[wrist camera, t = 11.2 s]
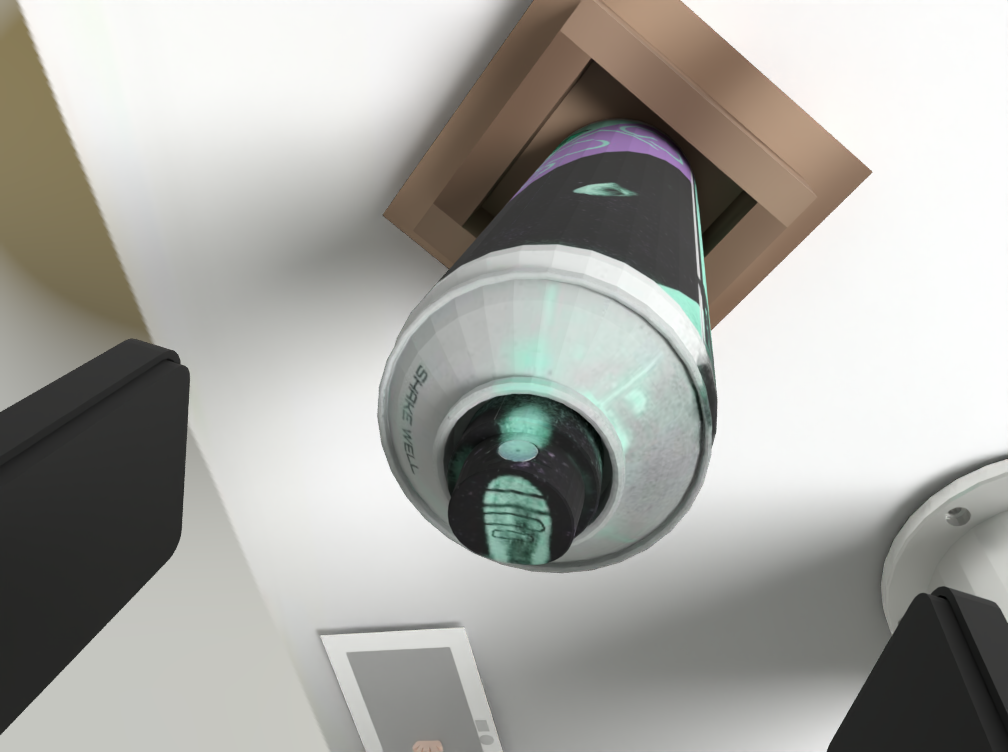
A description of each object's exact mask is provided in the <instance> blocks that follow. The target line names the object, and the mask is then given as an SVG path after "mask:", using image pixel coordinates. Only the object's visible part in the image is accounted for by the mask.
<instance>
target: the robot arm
mask: <svg viewBox="0 0 1008 752" xmlns="http://www.w3.org/2000/svg"><path fill="white" fill-rule="evenodd" d="M189 387H190V373H189V370H188V368H187V367H186V366H184V365H181V364H180V359H179V356H178V354H177V353H176V352H175V351H173V350H170V349H166V348H163V347H160V346H157V345H153V344H150V343H147V342H143V341H140V340H137V339H128V340H126V341H124V342H122V343H120V344H118V345H117V346H115V347H113V348H111V349H110V350H108V351H106V352H104V353H103V354H101V355H99V356H97V357H96V358H94V359H92V360H91V361H89V362H87V363H85V364H83V365H82V366H80V367H78V368H76V369H75V370H73V371H71V372H70V373H68V374H66V375H64V376H63V377H61V378H59V379H57V380H56V381H54V382H52V383H50V384H49V385H47V386H45V387H43V388H42V389H40V390H38V391H37V392H35V393H33V394H32V395H29V396H28V397H26V398H24V399H22V400H21V401H19V402H17V403H16V404H14V405H12V406H10V407H8V408H7V409H5V410H3V411H2V412H0V735H1V734H2V733H3V732H4V731H5V729H7V728H8V726H9V725H10V724H11V723H12V722H13V721H14V720H15V719H16V718H17V717H18V716H19V715H20V714H21V713H22V712H23V711H24V710H25V709H26V708H27V707H28V705H29V704H30V703H31V702H33V700H34V699H35V698H36V697H37V696H38V695H39V694H40V693H41V692H42V691H43V690H44V689H45V688H46V687H47V686H48V685H49V684H50V683H51V682H52V681H53V680H54V678H56V676H57V675H58V674H59V673H60V672H61V671H62V670H63V669H64V668H65V667H66V666H67V665H68V664H69V663H70V662H71V661H72V660H73V659H74V658H75V657H76V656H77V655H78V654H79V653H80V652H81V650H82V649H83V648H84V647H85V646H86V645H87V644H88V643H89V642H90V641H91V640H92V639H93V638H94V637H95V636H96V635H97V634H98V633H99V632H100V631H101V630H102V629H103V627H104V626H106V624H107V623H108V622H109V621H110V620H111V619H112V618H113V617H114V616H115V615H116V614H117V613H118V612H119V611H120V610H121V609H122V608H123V607H124V606H125V605H126V604H127V603H128V602H129V601H130V600H131V598H132V597H133V596H134V595H135V594H136V593H137V592H138V591H139V590H140V589H141V588H142V587H143V586H144V585H145V584H146V583H147V582H148V581H149V580H150V579H151V578H152V577H153V576H154V575H155V573H156V572H157V571H158V570H159V569H160V568H161V567H162V566H163V565H164V564H165V563H166V562H167V561H168V560H169V559H170V557H171V556H172V555H173V553H174V551H175V550H176V548H177V545H178V543H179V540H180V537H181V530H182V512H183V496H184V477H185V459H186V441H187V423H188V405H189ZM881 593H882V604H883V610H884V613H885V616H886V620H887V623H888V626H889V629H890V632H891V634H892V637H891V638H890V640H889V642H888V644H887V645H886V647H885V649H884V651H883V652H882V654H881V656H880V658H879V659H878V661H877V663H876V664H875V666H874V668H873V670H872V671H871V673H870V675H869V677H868V678H867V680H866V682H865V684H864V685H863V687H862V689H861V690H860V692H859V694H858V696H857V697H856V699H855V701H854V703H853V704H852V706H851V708H850V710H849V711H848V713H847V715H846V717H845V718H844V720H843V722H842V723H841V725H840V727H839V729H838V730H837V732H836V734H835V736H834V737H833V739H832V741H831V743H830V745H829V747H828V749H827V752H1008V459H1006V460H1003V461H999V462H996V463H993V464H989V465H986V466H984V467H982V468H980V469H978V470H976V471H973V472H971V473H969V474H967V475H965V476H963V477H961V478H958V479H956V480H955V481H954V482H952V483H951V484H949V485H948V486H946V487H945V488H943V489H942V490H940V491H939V492H937V493H936V494H934V495H933V496H931V497H930V498H929V499H928V500H927V501H926V502H925V503H924V504H923V505H922V506H921V507H920V508H919V509H918V510H916V511H915V512H914V513H913V514H912V515H911V516H910V517H909V519H908V520H907V522H906V523H905V524H904V526H903V527H902V529H901V530H900V531H899V533H898V534H897V536H896V537H895V539H894V541H893V543H892V545H891V548H890V550H889V553H888V555H887V557H886V560H885V562H884V568H883V574H882V581H881Z"/></svg>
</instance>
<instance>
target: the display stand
mask: <svg viewBox="0 0 1008 752" xmlns="http://www.w3.org/2000/svg"><path fill="white" fill-rule="evenodd" d="M613 118H627V119H633V120H639V121H642V122H645V123H647V124H650V125H653V126H655V127H656V128H658V129H660V130H661V131H663V132H664V133H666V134H667V135H668V136H669V137H670V138H672V139H673V140H674V141H675V142H676V143H677V144H678V145H679V147H680V148H681V150H682V151H683V153H684V154H685V156H686V157H687V159H688V161H689V163H690V166H691V168H692V171H693V173H694V176H695V181H696V187H697V193H698V204H699V214H700V224H701V235H702V245H703V256H704V266H705V276H706V287H707V297H708V307H709V318H710V328H711V330H712V329H713V328H714V327H715V326H716V325H717V324H718V323H719V322H720V321H721V320H722V319H723V318H724V317H725V316H726V315H728V314H729V313H730V312H731V311H732V310H733V309H734V308H735V307H736V306H737V305H738V304H739V303H740V302H741V301H742V300H743V299H744V298H745V297H746V296H747V295H748V294H749V293H750V292H751V291H752V290H753V289H754V288H755V287H756V286H757V285H758V284H759V283H760V282H761V281H762V280H763V279H764V278H765V277H766V276H767V275H768V274H769V273H770V272H771V271H772V270H773V269H774V268H775V267H776V266H777V265H778V264H779V263H780V262H782V261H783V260H784V259H785V258H786V257H787V256H788V255H789V254H790V253H791V252H792V251H793V250H794V249H795V248H796V247H797V246H798V245H799V244H800V243H801V242H802V241H803V240H804V239H805V238H806V237H807V236H808V235H809V234H810V233H811V232H812V231H813V230H814V229H815V228H816V227H817V226H818V225H819V224H820V223H821V222H822V221H823V220H824V219H825V218H826V217H827V216H828V215H829V214H830V213H831V212H832V211H833V210H835V209H836V208H837V207H838V206H839V205H840V204H841V203H842V202H843V201H844V200H845V199H846V198H847V197H848V196H849V195H850V194H851V193H852V192H853V191H854V190H855V189H856V188H857V187H858V186H859V185H860V184H861V183H862V182H863V181H864V180H865V179H866V178H867V177H868V176H869V175H870V174H871V173H872V171H871V170H870V169H869V168H868V167H867V166H865V165H864V164H863V163H862V162H861V161H860V160H859V159H858V158H856V157H855V156H854V155H853V154H852V153H851V152H850V151H849V150H847V149H846V148H845V147H844V146H843V145H842V144H841V143H840V142H838V141H837V140H836V139H835V138H834V137H833V136H832V135H831V134H830V133H828V132H827V131H826V130H825V129H824V128H823V127H822V126H821V125H819V124H818V123H817V122H816V121H815V120H814V119H813V118H812V117H810V116H809V115H808V114H807V113H806V112H805V111H804V110H803V109H801V108H800V107H799V106H798V105H797V104H796V103H795V102H794V101H793V100H791V99H790V98H789V97H788V96H787V95H786V94H785V93H784V92H782V91H781V90H780V89H779V88H778V87H777V86H776V85H775V84H773V83H772V82H771V81H770V80H769V79H768V78H767V77H766V76H764V75H763V74H762V73H761V72H760V71H759V70H758V69H757V68H756V67H754V66H753V65H752V64H751V63H750V62H749V61H748V60H747V59H745V58H744V57H743V56H742V55H741V54H740V53H739V52H738V51H736V50H735V49H734V48H733V47H732V46H731V45H730V44H729V43H728V42H726V41H725V40H724V39H723V38H722V37H721V36H720V35H719V34H717V33H716V32H715V31H714V30H713V29H712V28H711V27H710V26H708V25H707V24H706V23H705V22H704V21H703V20H702V19H701V18H699V17H698V16H697V15H696V14H695V13H694V12H693V11H692V10H691V9H689V8H688V7H687V6H686V5H685V4H684V3H683V2H682V1H680V0H533V2H532V3H531V5H530V6H529V8H528V9H527V10H526V12H525V13H524V15H523V16H522V18H521V19H520V20H519V22H518V23H517V25H516V26H515V27H514V29H513V30H512V32H511V33H510V35H509V36H508V37H507V39H506V40H505V42H504V43H503V44H502V46H501V47H500V49H499V50H498V52H497V53H496V54H495V56H494V57H493V59H492V60H491V62H490V63H489V64H488V66H487V67H486V69H485V70H484V71H483V73H482V74H481V76H480V77H479V79H478V80H477V81H476V83H475V84H474V86H473V87H472V89H471V90H470V91H469V93H468V94H467V96H466V97H465V98H464V100H463V101H462V103H461V104H460V106H459V107H458V108H457V110H456V111H455V113H454V114H453V115H452V117H451V118H450V120H449V121H448V123H447V124H446V125H445V127H444V128H443V130H442V131H441V133H440V134H439V135H438V137H437V138H436V140H435V141H434V142H433V144H432V145H431V147H430V148H429V150H428V151H427V152H426V154H425V155H424V157H423V158H422V159H421V161H420V162H419V164H418V165H417V167H416V168H415V169H414V171H413V172H412V174H411V175H410V177H409V178H408V179H407V181H406V182H405V184H404V185H403V186H402V188H401V189H400V191H399V192H398V194H397V195H396V196H395V198H394V199H393V201H392V202H391V204H390V205H389V206H388V208H387V209H386V211H385V212H384V213H383V216H384V217H385V218H386V219H388V220H389V221H390V222H391V223H393V224H394V225H395V226H396V227H397V228H399V229H400V230H401V231H402V232H404V233H405V234H406V235H407V236H409V237H410V238H411V239H412V240H414V241H415V242H416V243H417V244H419V245H420V246H421V247H422V248H424V249H425V250H426V251H427V252H428V253H430V254H431V255H432V256H433V257H435V258H436V259H437V260H438V261H440V262H441V263H442V264H443V265H445V266H446V267H447V268H448V269H450V268H451V267H452V266H453V264H454V263H455V262H456V261H457V260H458V259H459V258H460V257H461V255H462V254H463V253H464V252H465V251H466V250H467V249H468V247H469V246H470V245H471V244H472V243H473V242H474V241H475V240H476V238H477V237H478V236H479V235H480V234H481V233H482V232H483V230H484V229H485V228H486V227H487V226H488V225H489V224H490V223H491V221H492V220H493V219H494V218H495V217H496V216H497V215H498V213H499V212H500V211H501V210H502V209H503V208H504V207H505V205H506V204H507V203H508V202H509V201H510V200H511V199H512V198H513V196H514V195H515V194H516V193H517V192H518V191H519V190H520V188H521V187H522V186H523V185H524V184H525V183H526V182H527V181H528V179H529V178H530V177H531V176H532V175H533V174H534V173H535V171H536V170H537V169H538V168H539V167H540V166H541V165H542V164H543V162H544V161H545V160H546V159H547V158H548V157H549V156H550V154H551V153H552V152H553V151H554V150H555V149H556V148H557V147H558V145H559V144H560V143H561V142H562V141H563V140H564V139H565V138H567V137H568V136H569V135H571V134H572V133H573V132H575V131H576V130H578V129H580V128H582V127H584V126H586V125H588V124H590V123H593V122H597V121H601V120H605V119H613Z"/></svg>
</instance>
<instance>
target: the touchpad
mask: <svg viewBox="0 0 1008 752" xmlns="http://www.w3.org/2000/svg"><path fill="white" fill-rule="evenodd" d="M320 637H321V639H322V642H323V644H324V647H325V649H326V652H327V654H328V657H329V660H330V662H331V665H332V667H333V670H334V672H335V675H336V677H337V680H338V682H339V685H340V688H341V690H342V693H343V695H344V698H345V700H346V703H347V705H348V708H349V710H350V713H351V716H352V718H353V721H354V723H355V726H356V728H357V731H358V733H359V736H360V739H361V741H362V744H363V746H364V749H365V751H366V752H503V750H502V747H501V743H500V740H499V737H498V734H497V730H496V727H495V724H494V721H493V717H492V714H491V711H490V708H489V704H488V701H487V698H486V695H485V691H484V688H483V685H482V682H481V679H480V675H479V672H478V669H477V666H476V662H475V659H474V656H473V653H472V649H471V646H470V643H469V640H468V636H467V633H466V630H465V627H460V628H442V629H425V630H407V631H389V632H372V633H354V634H337V635H320Z"/></svg>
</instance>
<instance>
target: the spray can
mask: <svg viewBox="0 0 1008 752" xmlns="http://www.w3.org/2000/svg"><path fill="white" fill-rule="evenodd" d="M377 417H378V423H379V430H380V437H381V444H382V447H383V450H384V452H385V455H386V458H387V461H388V463H389V466H390V469H391V472H392V473H393V475H394V477H395V478H396V480H397V482H398V483H399V485H400V487H401V489H402V490H403V492H404V494H405V495H406V497H407V498H408V499H409V500H410V502H411V503H412V504H413V505H414V506H415V507H416V509H417V510H418V511H419V512H420V513H421V514H422V516H423V517H424V518H425V519H426V520H427V521H428V522H430V523H431V524H432V525H433V526H434V527H436V528H437V529H438V530H439V531H440V532H442V533H443V534H444V535H445V536H446V537H448V538H449V539H451V540H452V541H454V542H456V543H457V544H459V545H461V546H463V547H464V548H466V549H468V550H469V551H471V552H473V553H474V554H477V555H479V556H482V557H484V558H487V559H489V560H492V561H494V562H497V563H499V564H502V565H506V566H511V567H515V568H520V569H524V570H528V571H535V572H551V573H569V572H579V571H589V570H595V569H598V568H602V567H605V566H609V565H612V564H616V563H620V562H622V561H624V560H626V559H628V558H630V557H632V556H634V555H636V554H638V553H640V552H643V551H645V550H647V549H648V548H649V547H651V546H652V545H653V544H655V543H656V542H657V541H659V540H660V539H661V538H663V537H664V536H665V535H667V534H668V533H669V532H670V531H671V530H672V529H673V528H674V527H675V526H676V525H677V523H678V522H679V521H680V520H681V519H682V518H683V516H684V515H685V514H686V513H687V512H688V511H689V509H690V508H691V506H692V504H693V502H694V500H695V498H696V496H697V495H698V493H699V491H700V489H701V487H702V485H703V483H704V480H705V476H706V472H707V469H708V465H709V461H710V458H711V449H712V445H713V442H714V438H715V434H716V426H717V391H716V380H715V370H714V359H713V349H712V339H711V328H710V318H709V307H708V297H707V287H706V276H705V266H704V256H703V245H702V235H701V224H700V214H699V204H698V193H697V187H696V181H695V176H694V173H693V171H692V168H691V166H690V163H689V161H688V159H687V157H686V156H685V154H684V153H683V151H682V150H681V148H680V147H679V145H678V144H677V143H676V142H675V141H674V140H673V139H672V138H670V137H669V136H668V135H667V134H666V133H664V132H663V131H661V130H660V129H658V128H656V127H655V126H653V125H650V124H647V123H645V122H642V121H639V120H633V119H627V118H613V119H605V120H601V121H597V122H593V123H590V124H588V125H586V126H584V127H582V128H580V129H578V130H576V131H575V132H573V133H572V134H571V135H569V136H568V137H567V138H565V139H564V140H563V141H562V142H561V143H560V144H559V145H558V147H557V148H556V149H555V150H554V151H553V152H552V153H551V154H550V156H549V157H548V158H547V159H546V160H545V161H544V162H543V164H542V165H541V166H540V167H539V168H538V169H537V170H536V171H535V173H534V174H533V175H532V176H531V177H530V178H529V179H528V181H527V182H526V183H525V184H524V185H523V186H522V187H521V188H520V190H519V191H518V192H517V193H516V194H515V195H514V196H513V198H512V199H511V200H510V201H509V202H508V203H507V204H506V205H505V207H504V208H503V209H502V210H501V211H500V212H499V213H498V215H497V216H496V217H495V218H494V219H493V220H492V221H491V223H490V224H489V225H488V226H487V227H486V228H485V229H484V230H483V232H482V233H481V234H480V235H479V236H478V237H477V238H476V240H475V241H474V242H473V243H472V244H471V245H470V246H469V247H468V249H467V250H466V251H465V252H464V253H463V254H462V255H461V257H460V258H459V259H458V260H457V261H456V262H455V263H454V264H453V266H452V267H451V268H450V269H449V270H448V271H447V272H446V274H445V275H444V276H443V277H442V278H441V279H440V280H439V281H438V283H437V284H436V285H435V286H434V287H433V288H432V289H431V291H430V292H429V293H428V294H427V295H426V296H425V297H424V299H423V300H422V301H421V302H420V303H419V304H418V305H417V306H416V308H415V309H414V310H413V311H412V312H411V314H410V316H409V317H408V319H407V321H406V323H405V325H404V326H403V328H402V330H401V332H400V334H399V335H398V337H397V340H396V343H395V346H394V348H393V350H392V352H391V354H390V356H389V357H388V359H387V362H386V366H385V369H384V373H383V376H382V379H381V383H380V386H379V398H378V414H377Z"/></svg>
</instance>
